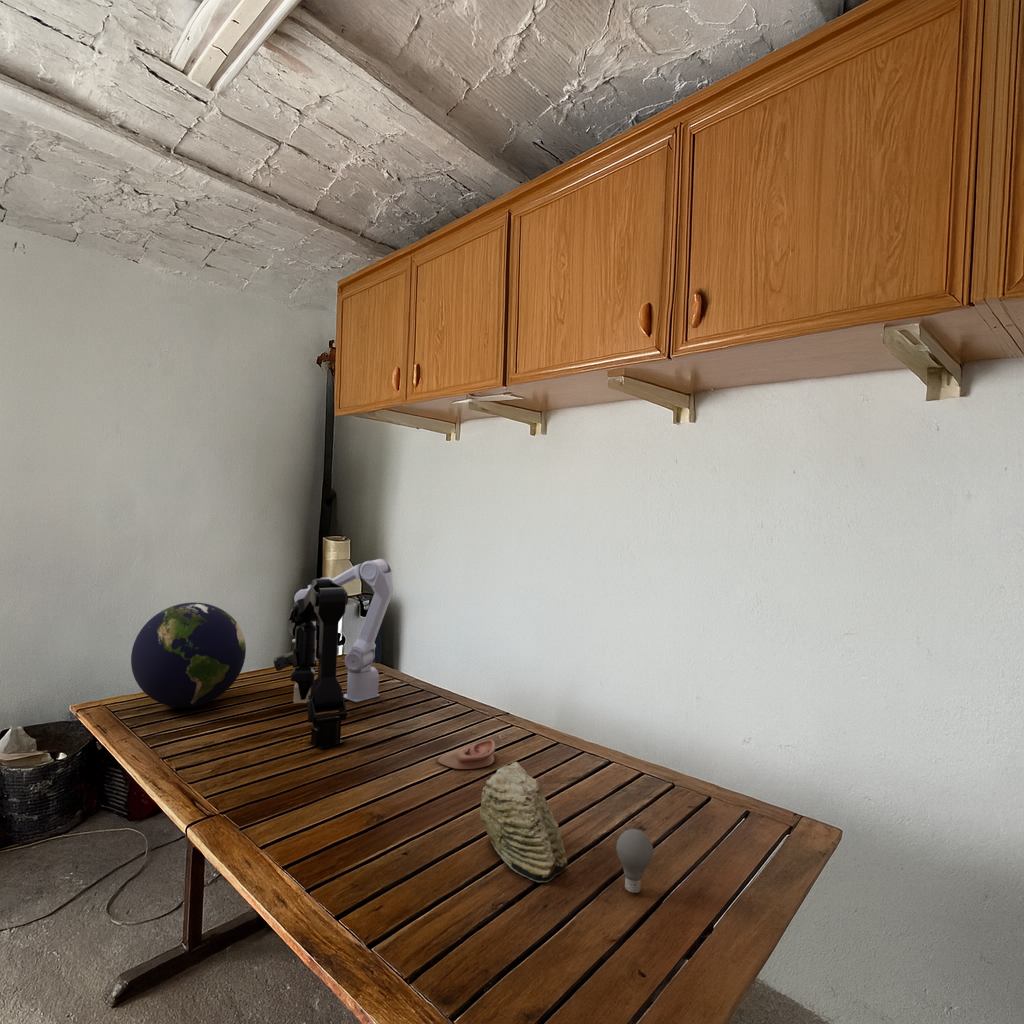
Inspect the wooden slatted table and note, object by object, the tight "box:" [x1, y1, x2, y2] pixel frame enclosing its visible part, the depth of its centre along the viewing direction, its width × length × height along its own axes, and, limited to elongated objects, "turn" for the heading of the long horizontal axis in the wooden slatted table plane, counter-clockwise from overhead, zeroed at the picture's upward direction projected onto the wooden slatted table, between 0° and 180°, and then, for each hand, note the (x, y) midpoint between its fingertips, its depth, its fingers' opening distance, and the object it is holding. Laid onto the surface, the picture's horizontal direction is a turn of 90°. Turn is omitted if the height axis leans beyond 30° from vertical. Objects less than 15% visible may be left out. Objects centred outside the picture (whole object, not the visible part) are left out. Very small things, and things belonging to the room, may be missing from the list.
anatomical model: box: [437, 739, 496, 770], centre depth 155 cm, size 13×4×12 cm
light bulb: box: [615, 828, 654, 894], centre depth 106 cm, size 6×6×10 cm
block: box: [293, 682, 311, 704], centre depth 184 cm, size 4×5×5 cm
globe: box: [130, 601, 247, 708], centre depth 186 cm, size 30×30×30 cm
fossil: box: [479, 761, 569, 883], centre depth 114 cm, size 9×18×15 cm, turn 46°
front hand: (303, 697), depth 184 cm, fingers closed on block, 4 cm apart
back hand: (304, 668), depth 204 cm, fingers open, 7 cm apart
